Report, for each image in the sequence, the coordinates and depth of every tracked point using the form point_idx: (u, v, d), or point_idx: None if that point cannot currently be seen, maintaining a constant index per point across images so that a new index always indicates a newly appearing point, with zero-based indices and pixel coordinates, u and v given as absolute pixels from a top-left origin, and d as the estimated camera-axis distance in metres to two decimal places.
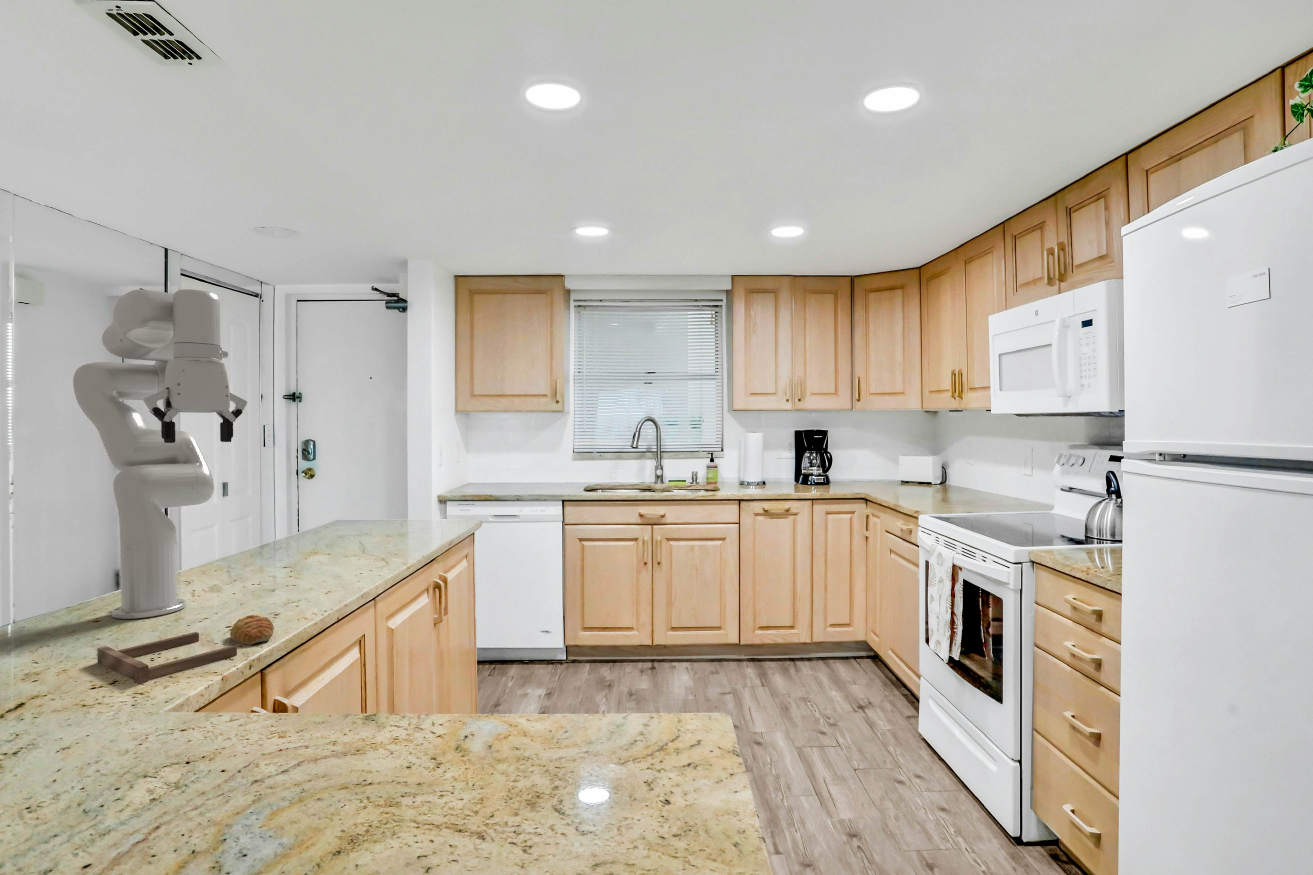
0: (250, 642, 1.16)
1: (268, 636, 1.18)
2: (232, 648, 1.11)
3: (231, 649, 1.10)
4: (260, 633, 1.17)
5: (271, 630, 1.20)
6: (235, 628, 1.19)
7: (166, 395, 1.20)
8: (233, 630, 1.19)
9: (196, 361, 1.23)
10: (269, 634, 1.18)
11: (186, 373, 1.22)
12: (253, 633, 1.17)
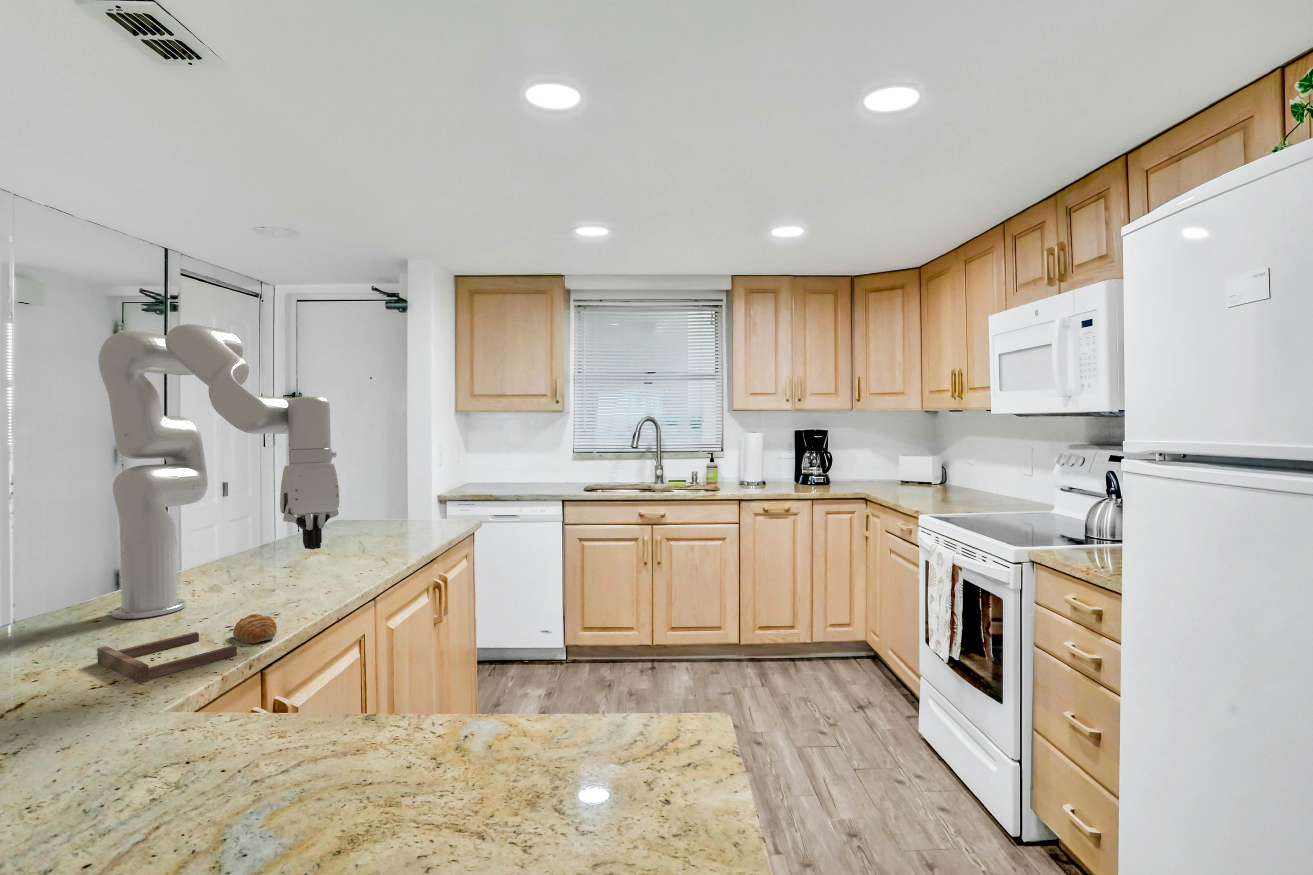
0: (254, 641, 1.17)
1: (272, 635, 1.19)
2: (232, 648, 1.11)
3: (231, 649, 1.10)
4: (264, 632, 1.18)
5: (275, 629, 1.20)
6: (239, 627, 1.20)
7: None
8: (236, 629, 1.20)
9: (311, 465, 1.27)
10: (273, 633, 1.19)
11: (302, 478, 1.26)
12: (257, 632, 1.18)
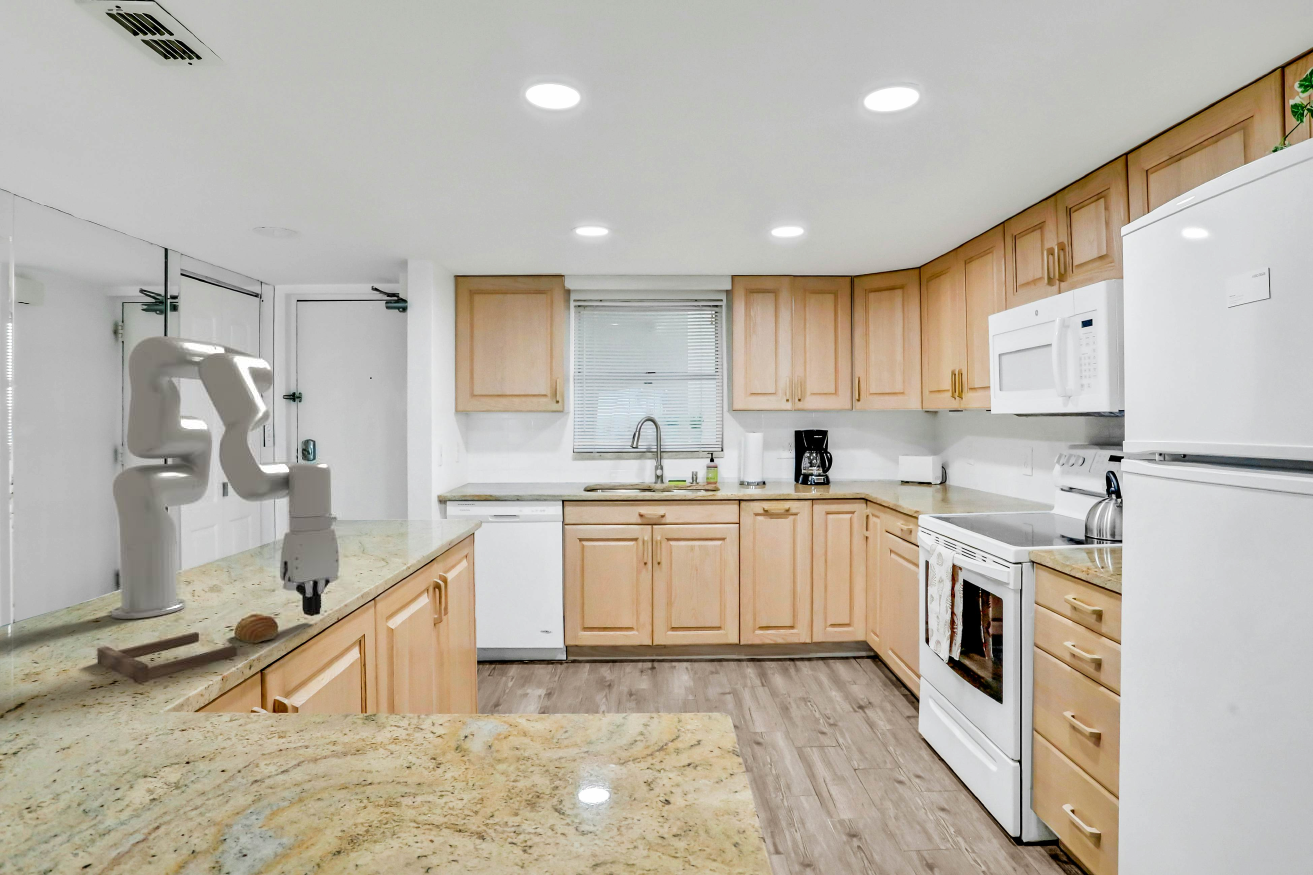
0: (255, 641, 1.17)
1: (273, 635, 1.19)
2: (232, 648, 1.11)
3: (231, 649, 1.10)
4: (266, 631, 1.18)
5: (276, 628, 1.21)
6: (240, 626, 1.20)
7: None
8: (238, 629, 1.20)
9: (311, 533, 1.28)
10: (274, 632, 1.19)
11: (303, 546, 1.26)
12: (258, 631, 1.18)
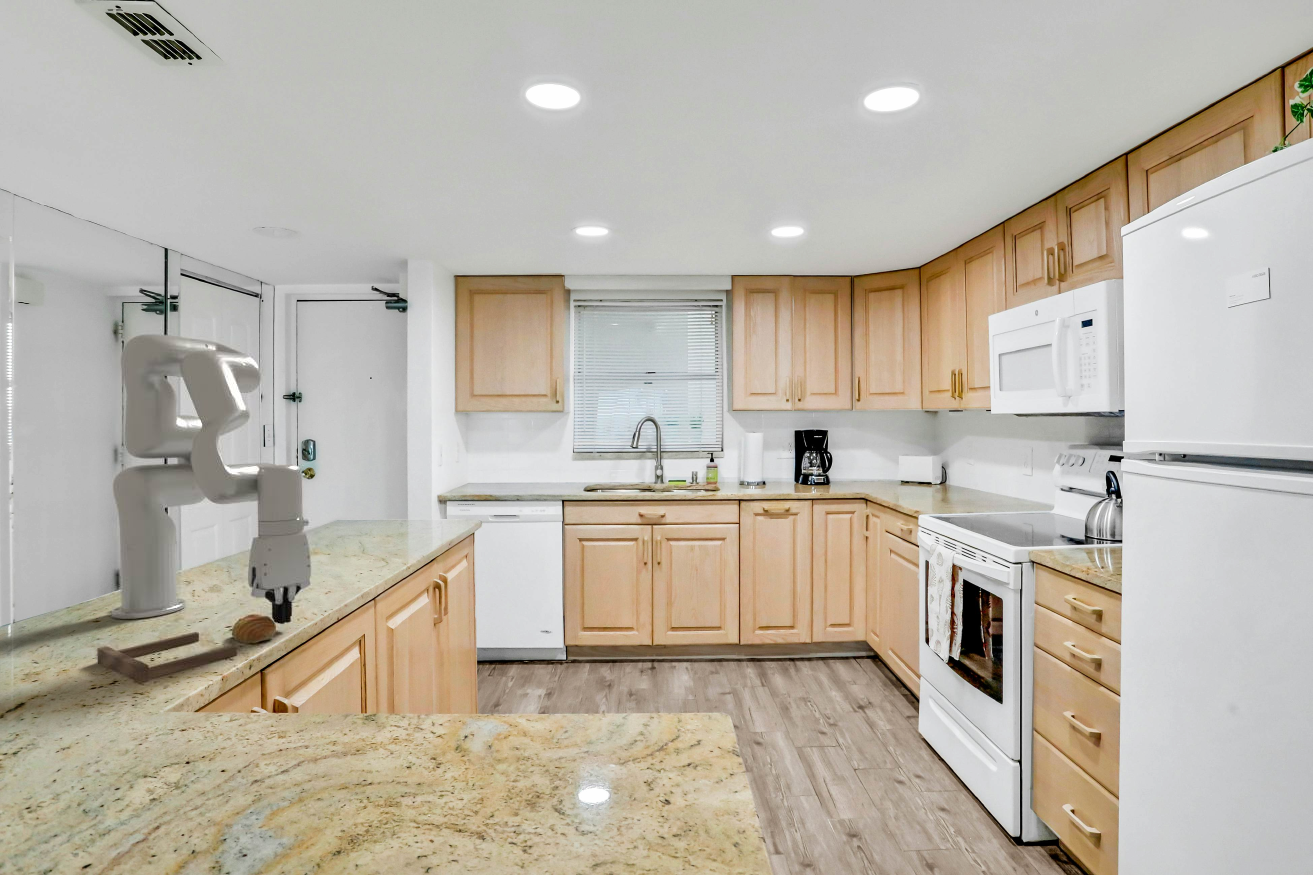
0: (254, 641, 1.17)
1: (271, 635, 1.19)
2: (232, 648, 1.11)
3: (231, 649, 1.10)
4: (264, 632, 1.18)
5: (274, 628, 1.20)
6: (237, 627, 1.20)
7: None
8: (235, 629, 1.19)
9: (281, 538, 1.23)
10: (273, 632, 1.19)
11: (272, 551, 1.21)
12: (256, 631, 1.18)
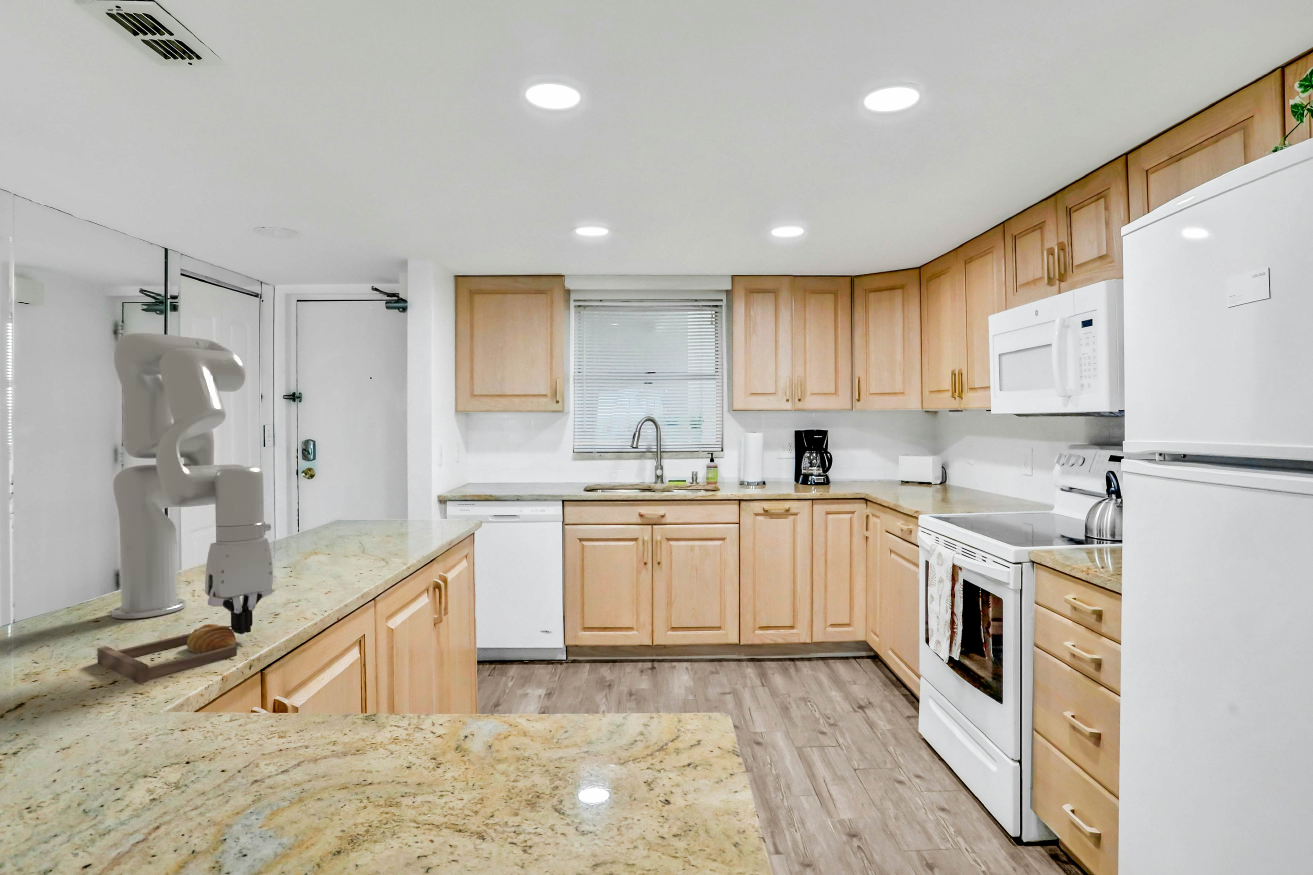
0: None
1: (232, 645, 1.13)
2: (232, 648, 1.11)
3: (231, 649, 1.10)
4: (225, 642, 1.12)
5: (234, 638, 1.15)
6: (194, 638, 1.13)
7: None
8: (191, 640, 1.13)
9: (240, 543, 1.16)
10: (233, 643, 1.14)
11: (230, 558, 1.15)
12: (216, 642, 1.12)
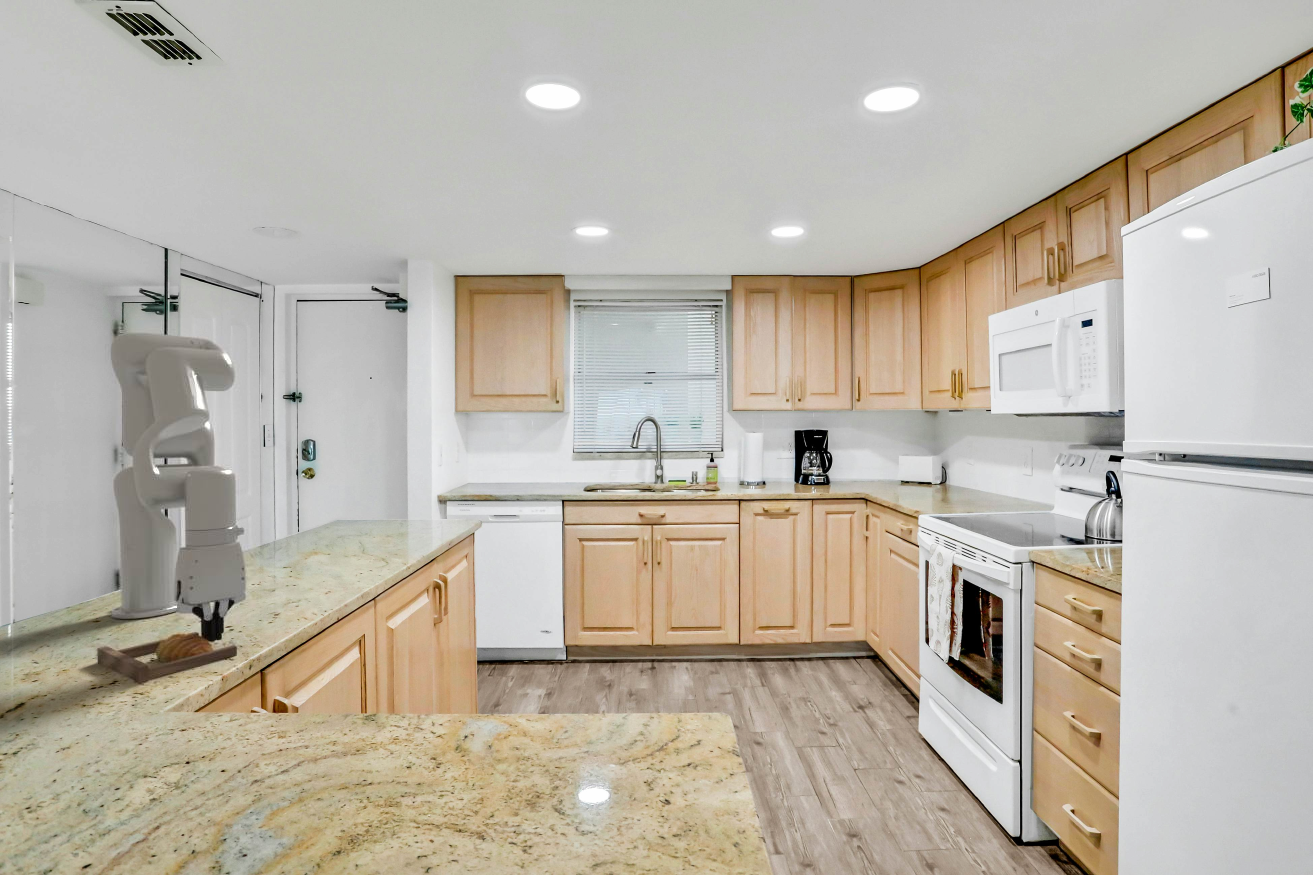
0: None
1: None
2: (232, 648, 1.11)
3: (231, 649, 1.10)
4: (203, 650, 1.09)
5: (211, 646, 1.11)
6: (166, 648, 1.08)
7: None
8: (163, 651, 1.08)
9: (210, 548, 1.12)
10: (212, 650, 1.10)
11: (199, 563, 1.11)
12: (194, 651, 1.08)
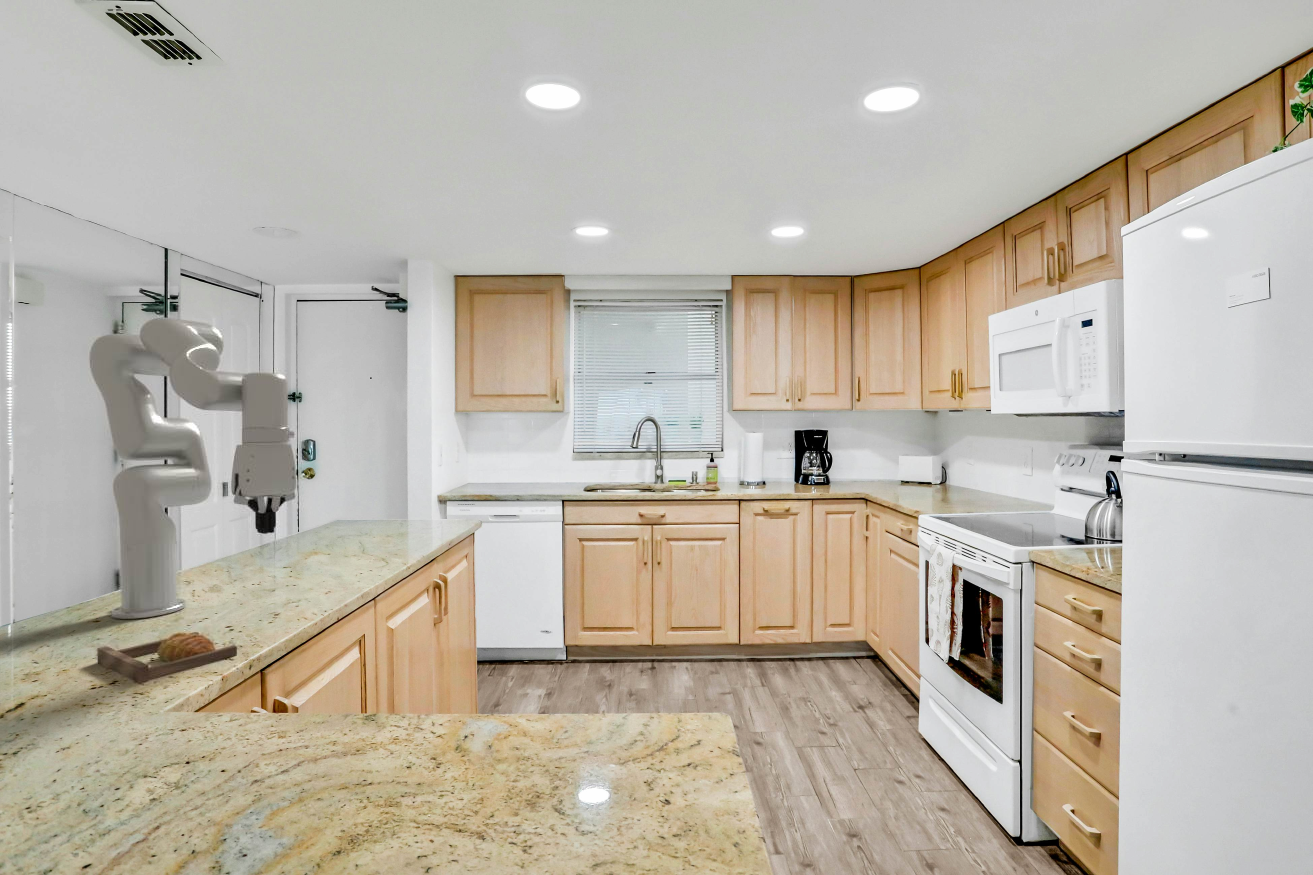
0: None
1: None
2: (232, 648, 1.11)
3: (231, 649, 1.10)
4: (206, 649, 1.09)
5: (213, 645, 1.11)
6: (168, 647, 1.09)
7: None
8: (165, 650, 1.08)
9: (265, 445, 1.21)
10: (214, 649, 1.10)
11: (255, 458, 1.20)
12: (197, 649, 1.08)
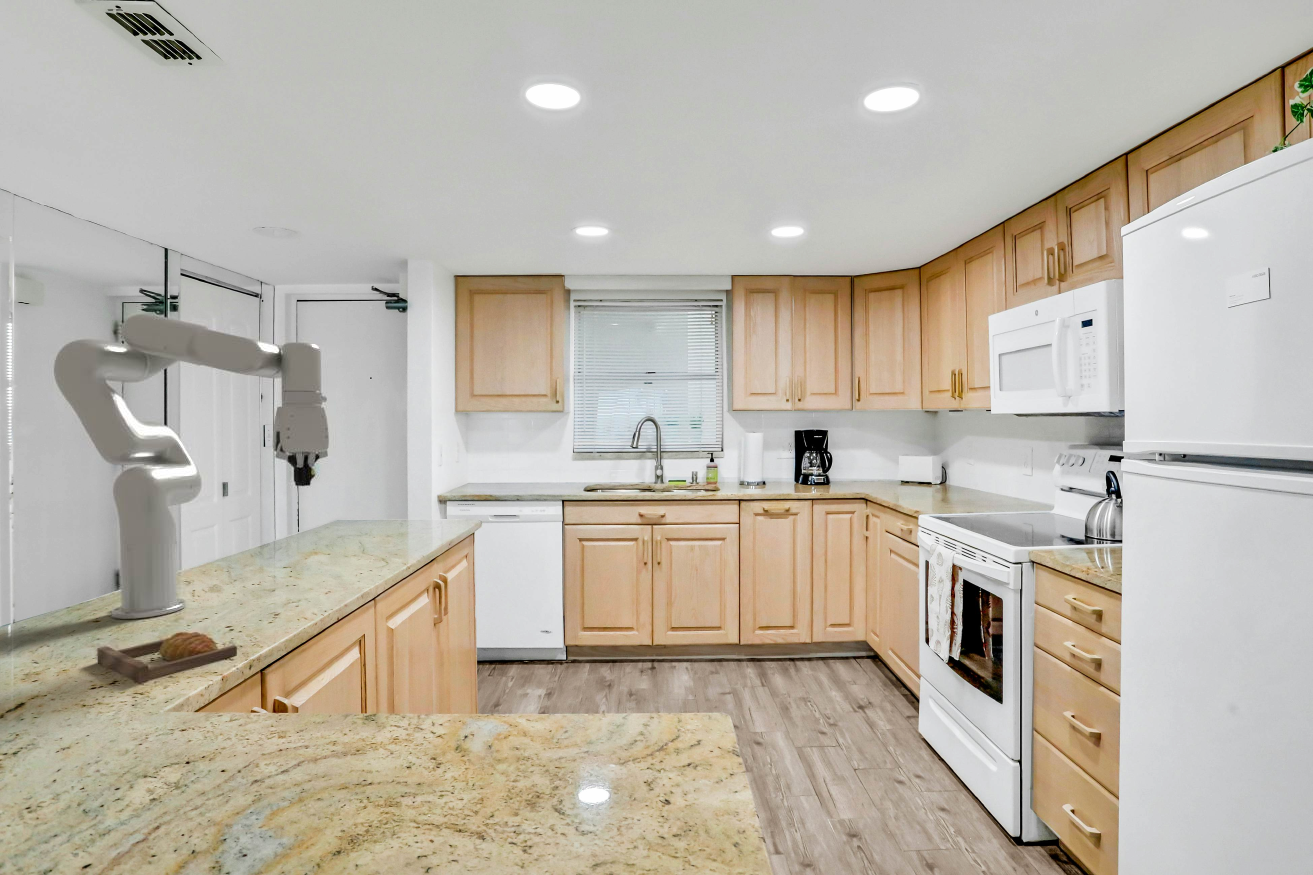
0: None
1: None
2: (232, 648, 1.11)
3: (231, 649, 1.10)
4: (209, 648, 1.10)
5: (215, 644, 1.12)
6: (170, 646, 1.09)
7: None
8: (168, 649, 1.09)
9: (302, 407, 1.36)
10: (216, 648, 1.11)
11: (294, 418, 1.35)
12: (200, 648, 1.09)
